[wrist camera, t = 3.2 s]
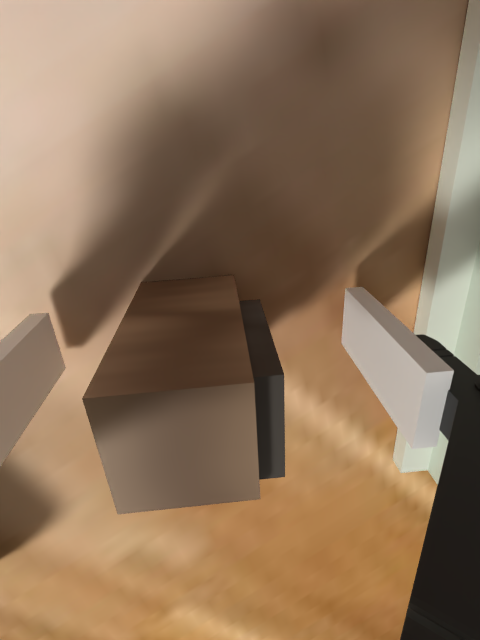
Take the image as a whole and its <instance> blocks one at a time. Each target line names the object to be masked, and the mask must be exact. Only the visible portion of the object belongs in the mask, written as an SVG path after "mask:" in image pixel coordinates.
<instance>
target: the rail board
mask: <svg viewBox="0 0 480 640" xmlns="http://www.w3.org/2000/svg"><path fill="white" fill-rule="evenodd" d="M414 334H415V335H421V334H424V335H426V336H428V337H431V338H433V339H435V340H437V341H438V342H439V343H441V344H442V345H443V346H444V347H445V348H446V350H449V351H450V352H451V353H452V354H454V356H456V357H457V358H458V359H459V360H461V361H462V362H463V363H464V364H465V365H466V366H468V367H469V368H470V369H471V370H472V371H473V372H475V373H476V374H477V375H480V0H469V3H468V9H467V15H466V21H465V27H464V33H463V39H462V45H461V51H460V57H459V63H458V69H457V75H456V81H455V87H454V93H453V99H452V105H451V111H450V117H449V123H448V129H447V135H446V141H445V147H444V153H443V159H442V165H441V171H440V177H439V183H438V189H437V195H436V201H435V207H434V213H433V219H432V225H431V231H430V238H429V244H428V250H427V256H426V262H425V268H424V274H423V280H422V286H421V292H420V298H419V304H418V310H417V316H416V322H415V328H414ZM447 445H448V440H447V438H446V437H445V436H444V435H443V434H442V432H441V431H440V434H439V438H438V443H437V447H428V448H418V449H412V448H411V447H410V445H409V444H408V442H407V441H406V439H405V438H404V436H403V435H402V433H401V432H400V430H399V429H398V430H397V436H396V442H395V448H394V454H393V461H394V462H395V464H396V466H397V467H398V469H399V471H400V473H405V472H414V471H424V470H428V471H429V473H430V474H431V476H432V477H433V479H434V480H435V482H436V483H437V485H438V482H439V478H440V474H441V470H442V465H443V461H444V457H445V453H446V449H447Z"/></svg>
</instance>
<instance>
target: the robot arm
mask: <svg viewBox="0 0 480 640" xmlns="http://www.w3.org/2000/svg"><path fill="white" fill-rule="evenodd" d="M342 345H343V346H344V348H345V349H346V351H347V352H348V354H349V355H350V357H351V358H352V360H353V361H354V363H355V364H356V366H357V367H358V369H359V370H360V372H361V373H362V375H363V376H364V378H365V379H366V381H367V382H368V384H369V385H370V387H371V388H372V390H373V391H374V393H375V394H376V396H377V397H378V399H379V400H380V402H381V403H382V405H383V406H384V408H385V409H386V411H387V412H388V414H389V415H390V417H391V418H392V420H393V421H394V423H395V424H396V426H397V427H398V429H399V430H400V432H401V433H402V435H403V436H404V438H405V439H406V441H407V442H408V444H409V445H410V447H411V448H412V449H418V448H428V447H437V443H438V438H439V434H440V431H441V432H442V434H443V435H444V436H445V437H446V438H447V440H448V445H447V449H446V453H445V457H444V461H443V465H442V470H441V474H440V478H439V482H438V486H437V490H436V494H435V498H434V502H433V507H432V511H431V515H430V519H429V523H428V527H427V531H426V535H425V539H424V544H423V548H422V552H421V556H420V560H419V564H418V568H417V572H416V576H415V581H414V585H413V589H412V593H411V597H410V601H409V605H408V609H407V613H406V617H405V622H404V626H403V630H402V634H401V638H400V640H480V375H477V374H476V373H475V372H473V371H472V370H471V369H470V368H469V367H468V366H466V365H465V364H464V363H463V362H462V361H461V360H459V359H458V358H457V357H456V356H454V354H452V353H451V352H450V351H449V350H446V348H445V347H444V346H443V345H442V344H441V343H439V342H438V341H437V340H435V339H433V338H431V337H428V336H426V335H424V334H421V335H415V334H414V333H413V332H411V331H410V330H409V329H408V328H407V327H406V326H405V325H404V324H403V323H402V322H401V321H399V320H398V319H397V318H396V317H395V316H394V315H393V314H392V313H391V312H390V311H389V310H387V309H386V308H385V307H384V306H383V305H382V304H381V303H380V302H379V301H378V300H377V299H375V298H374V297H373V296H372V295H371V294H370V293H369V292H368V291H367V290H366V289H365V288H363V287H354V288H345V301H344V315H343V330H342ZM65 368H66V367H65V364H64V361H63V358H62V355H61V351H60V348H59V345H58V342H57V339H56V335H55V332H54V329H53V326H52V323H51V320H50V316H49V313H39V314H30V315H29V316H27V317H26V318H25V319H24V320H23V321H22V322H21V323H20V324H19V325H18V326H17V327H16V328H14V329H13V330H12V331H11V332H10V333H9V334H8V335H7V336H6V337H5V338H4V339H2V340H1V341H0V467H1V465H2V464H3V462H4V461H5V459H6V458H7V456H8V455H9V453H10V452H11V450H12V449H13V447H14V446H15V444H16V443H17V441H18V439H19V438H20V436H21V435H22V433H23V432H24V430H25V429H26V427H27V426H28V424H29V423H30V421H31V420H32V418H33V417H34V415H35V414H36V412H37V411H38V409H39V408H40V406H41V405H42V403H43V402H44V400H45V399H46V397H47V396H48V394H49V392H50V391H51V389H52V388H53V386H54V385H55V383H56V382H57V380H58V379H59V377H60V376H61V374H62V373H63V371H64V370H65Z"/></svg>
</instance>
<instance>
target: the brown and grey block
mask: <svg viewBox="0 0 480 640" xmlns="http://www.w3.org/2000/svg"><path fill="white" fill-rule="evenodd" d="M82 399H83V403H84V406H85V409H86V412H87V416H88V419H89V422H90V425H91V429H92V432H93V435H94V439H95V442H96V445H97V448H98V452H99V455H100V458H101V461H102V465H103V468H104V471H105V474H106V478H107V481H108V484H109V488H110V491H111V494H112V497H113V501H114V504H115V507H116V510H117V514H126V513H135V512H145V511H154V510H163V509H173V508H182V507H192V506H201V505H210V504H220V503H229V502H238V501H248V500H257V499H260V484H259V479H269V478H278V477H285V425H284V373H283V370H282V367H281V364H280V361H279V357H278V354H277V351H276V348H275V345H274V342H273V339H272V336H271V333H270V330H269V327H268V324H267V321H266V317H265V314H264V311H263V308H262V305H261V302H260V299H259V300H247V301H239V299H238V293H237V288H236V283H235V277H234V275H227V276H215V277H202V278H190V279H178V280H165V281H153V282H141V284H140V286H139V288H138V290H137V292H136V294H135V296H134V298H133V300H132V301H131V303H130V305H129V307H128V309H127V311H126V313H125V315H124V317H123V319H122V321H121V323H120V325H119V327H118V329H117V331H116V333H115V335H114V337H113V339H112V341H111V343H110V345H109V347H108V349H107V351H106V353H105V355H104V357H103V359H102V361H101V363H100V365H99V367H98V369H97V371H96V373H95V375H94V377H93V378H92V380H91V382H90V384H89V386H88V388H87V390H86V392H85V394H84V396H83V398H82Z"/></svg>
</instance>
